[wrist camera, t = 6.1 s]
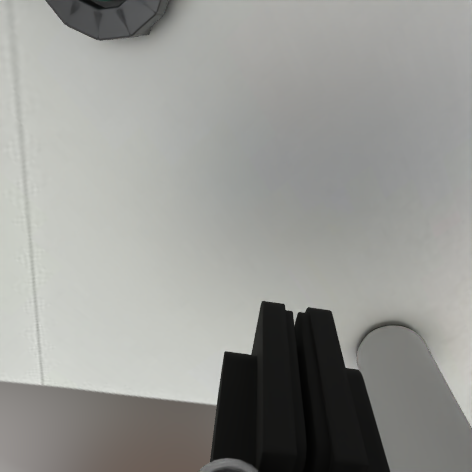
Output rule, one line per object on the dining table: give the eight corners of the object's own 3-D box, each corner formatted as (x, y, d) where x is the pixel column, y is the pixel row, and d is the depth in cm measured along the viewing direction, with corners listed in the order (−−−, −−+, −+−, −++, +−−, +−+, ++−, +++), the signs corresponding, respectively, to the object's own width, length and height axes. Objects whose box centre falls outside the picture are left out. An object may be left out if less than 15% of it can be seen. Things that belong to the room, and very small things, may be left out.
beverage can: (362, 379, 31) (419, 567, 20) (346, 330, 29) (401, 509, 18) (428, 364, 30) (526, 552, 19) (417, 312, 28) (519, 490, 17)
